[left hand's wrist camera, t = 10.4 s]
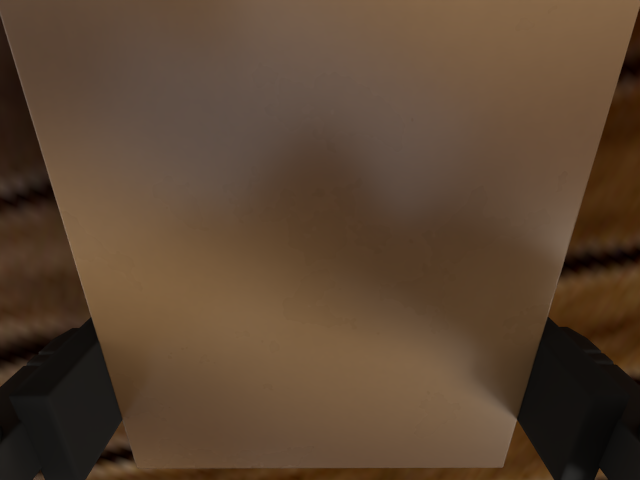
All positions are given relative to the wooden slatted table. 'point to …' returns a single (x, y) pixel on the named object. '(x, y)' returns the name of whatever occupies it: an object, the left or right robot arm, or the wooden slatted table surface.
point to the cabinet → (319, 212)
